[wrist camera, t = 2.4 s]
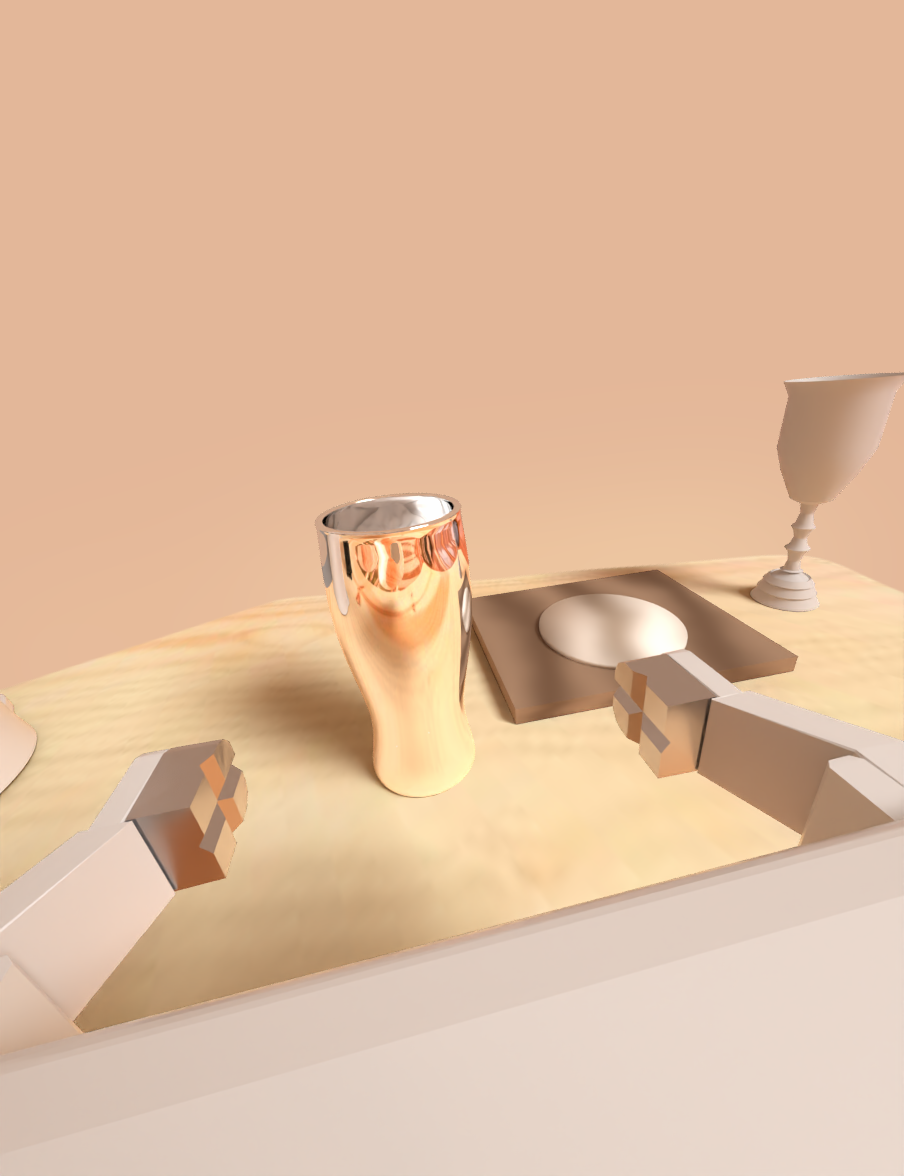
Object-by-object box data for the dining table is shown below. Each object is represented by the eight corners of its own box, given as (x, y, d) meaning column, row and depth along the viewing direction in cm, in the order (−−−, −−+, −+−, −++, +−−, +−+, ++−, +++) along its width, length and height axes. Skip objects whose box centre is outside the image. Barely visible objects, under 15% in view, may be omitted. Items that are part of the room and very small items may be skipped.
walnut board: (516, 724, 27) (515, 704, 27) (465, 610, 42) (464, 595, 41) (793, 670, 30) (799, 651, 29) (655, 580, 44) (657, 566, 44)
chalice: (771, 620, 36) (835, 381, 28) (720, 586, 42) (761, 382, 34) (857, 611, 36) (944, 371, 28) (793, 578, 42) (851, 374, 34)
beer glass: (354, 737, 28) (300, 508, 21) (453, 701, 30) (431, 485, 24) (385, 827, 22) (323, 547, 15) (504, 773, 24) (494, 512, 18)
